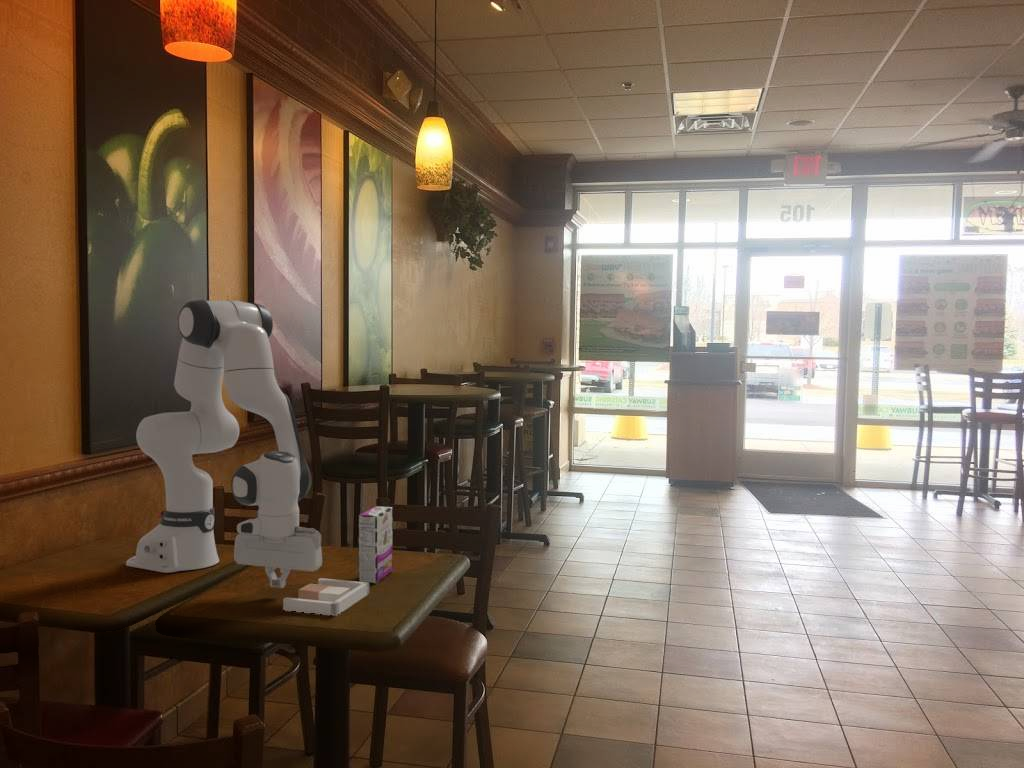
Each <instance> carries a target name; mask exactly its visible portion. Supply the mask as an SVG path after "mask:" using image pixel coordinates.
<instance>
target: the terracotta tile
mask: <svg viewBox="0 0 1024 768" xmlns="http://www.w3.org/2000/svg"><path fill="white" fill-rule="evenodd" d="M329 586H330V585H320V584H318V583H309V584H306V585H305V586H303V587H301V588H299V589H298V591H297V592H298V595H297V596H298V599H308V600H318V593H319V592H320V591H322V590H324V589H325V588H327V587H329Z"/></svg>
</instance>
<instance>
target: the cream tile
mask: <svg viewBox="0 0 1024 768" xmlns="http://www.w3.org/2000/svg"><path fill="white" fill-rule="evenodd" d="M348 592H350V588H344V587H334V586H329V587H327V588H325V589H324V590H322V591H320V592H319V593H318V601H328V602H334V601H336V600H338V599H339V598H341V597H342V596H344V595H345V594H347V593H348Z"/></svg>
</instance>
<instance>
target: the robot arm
mask: <svg viewBox="0 0 1024 768" xmlns="http://www.w3.org/2000/svg"><path fill="white" fill-rule="evenodd" d="M177 320H178V321H177V326H178V330H179V334H180V336H181V337H182V340H181V343H180V347H179V350H178V358H177V361H176V362H177V364H176V368H175V369H176V370H175V375H174V382H173V387H174V388H175V391H176V393H177V394H178V395H180V397H182V398H183V399H185V400H187V401H189V402H190V403H191V404H190V405H191V406H190V410H189V411H177V412H176V411H175V412H174V411H172V412H161V413H157V414H152V415H149V416H146V417H144V418H142V420H141V421H140V422H139V424H138V427H137V428H136V434H135V437H136V438H135V439H136V443H137V445H138V447H139V449H140V450H141V452H142V453H143V454H145V455H147V456H148V457H150V458H151V459H152V461H154V462H155V464H157V466H158V468H159V470H160V472H161V473H162V477H163V479H164V480H163V481H164V487H165V509H164V510H162V511H161V512H156V515H157V516H156V518H160V520H159V524H158V525H156V526H155V527H154V528H153V529H151V530H150V531H149V532H147V533H146V534H145V535H144V536H142V537H141V538H140V539H139V540H138V542H137V546H136V552H135V555H134V556H132V557H130V558H128V559H127V560H126V561H125V566H126V567H131V568H138V569H142V570H148V571H154V572H159V573H164V574H166V573H167V574H168V573H176V572H181V571H191V570H200V569H205V568H209V567H211V566H214V565H216V564H218V563H219V562H220V558H219V555H218V551H217V547H216V541H215V533H214V527H215V520H216V518H215V507H214V506H213V502H214V501H213V499H214V498H213V496H214V495H213V494H214V492H213V490H214V489H213V488H214V487H213V485H214V481H213V479H212V477H211V475H210V474H209V473H208V472H207V471H205V470H203V469H201V468H198V467H196V466H195V464H194V460H193V455H201V454H203V455H204V454H209V453H210V454H212V453H218V452H222V451H225V450H228V449H231V448H233V447H234V446H235V445H236V443H237V441H238V440H239V436H240V425H239V422H238V421H237V418H236V417H235V416H234V415H233V414H232V413H231V412H230V411H229V410H228V409H227V408H226V406H225V403H224V400H223V394H222V393H223V392H222V391H223V389H222V388H223V381H224V387H225V391H226V394H227V397H228V398H229V399H230V401H232V403H234V404H235V405H236V406H238V407H239V408H241V409H243V410H244V411H248V412H250V413H254V414H255V415H259V416H261V417H263V418H264V419H266V420H267V421H268V422H269V423H270V425H272V428H273V432H274V435H275V440H276V444H277V447H278V450H271V451H266V452H264V453H263V454H262V455H260V458H259V459H257V460H255V461H253V462H249V463H246V464H243V465H240V466H239V467H238V468H236V470H235V471H234V473H233V475H232V478H231V483H230V486H231V494H232V496H233V498H234V499H235V500H236V501H237V502H238V503H239V504H240V505H243V506H250V507H251V506H252V507H253V506H258V509H257V516H255V517H252V518H249V519H246V520H244V521H241V522H239V523H238V524H236V531H237V535H236V537H235V539H234V549H233V559H234V561H235V563H236V564H238V565H244V566H245V565H246V566H257V567H265V573H266V575H267V578H268V579H269V587H273V588H280V589H283V588H285V587H286V583H287V578H288V576H289V575H290V573H291V570H292V571H293V570H295V571H301V572H303V571H304V572H314V571H315V572H316V571H317V570H318V569H320V567H322V565H323V554H322V553H323V552H322V547H321V546H322V535H321V533H320V532H319V531H318V530H316V529H315V528H313V527H303V526H300V506H299V502H300V501H301V500H302V499H304V498H305V496H306V495H307V494H308V492H309V491H310V488H311V486H312V473H311V471H310V468H309V465H308V463H307V461H306V458H305V455H304V450H303V447H302V442H301V438H300V434H299V430H298V423H297V421H296V416H295V413H294V409H293V406H292V405H293V404H292V403H291V399H290V398H289V396H288V395H287V394H286V393H285V392H283V391H282V390H281V388H280V386H279V384H278V381H277V378H276V376H275V368H274V367H275V365H274V357H273V353H272V352H273V351H272V348H271V347H272V346H271V344H270V336H271V335H272V332H273V329H274V328H273V327H274V322H273V316H272V315H271V312H270V310H269V309H268V308H267V307H266V306H265V305H262V304H260V303H255V302H253V301H252V302H246V301H240V300H232V299H226V300H222V299H221V300H217V299H216V300H205V299H196V300H191V301H187V302H185V304H184V305H183V306H182V307H181V308H180V311H179V314H178V319H177ZM276 569H279V572H280V574H281V575H280V576H279V577H277V574H276V572H275V570H276Z"/></svg>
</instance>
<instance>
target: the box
mask: <svg viewBox="0 0 1024 768" xmlns="http://www.w3.org/2000/svg"><path fill="white" fill-rule="evenodd" d="M317 584H320V585H330V586H334V587H344V588H350V592H348V593H347V594H345V595H344V596H342V597H341V598H339V599H338V600H336V601H334V602H328V601H318V600H308V599H298V598H297V597H288V596H286V597H284V598H283V601H282V611H283V610H285V612H291V611H296V612H295V613H301V612H304V613H303V614H310V613H315V614H314V615H320V614H322V615H323V616H330V615H332V616H331V617H337V616H338V614H339V615H340V614H342V613H343V612H345V611H347V609H349V608H350V607H352V606H354V604H356V603H358V602H359V601H361V600H362V599H363V598H365V597H367V596H368V595H369V594H370V583H368V582H359V581H356V580H355V581H354V580H345V579H336V578H335V579H333V578H324V577H323V578H318V579H317ZM341 612H342V613H341ZM322 615H321V616H322Z"/></svg>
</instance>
